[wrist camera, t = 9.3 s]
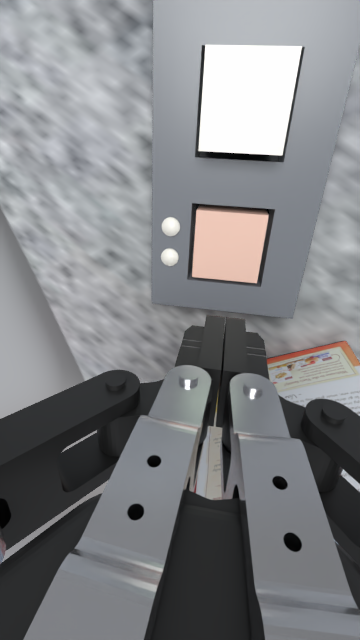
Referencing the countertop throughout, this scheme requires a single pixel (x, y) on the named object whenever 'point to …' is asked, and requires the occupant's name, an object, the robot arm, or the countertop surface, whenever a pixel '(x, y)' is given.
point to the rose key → (229, 242)
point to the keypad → (238, 174)
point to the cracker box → (294, 399)
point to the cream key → (247, 98)
